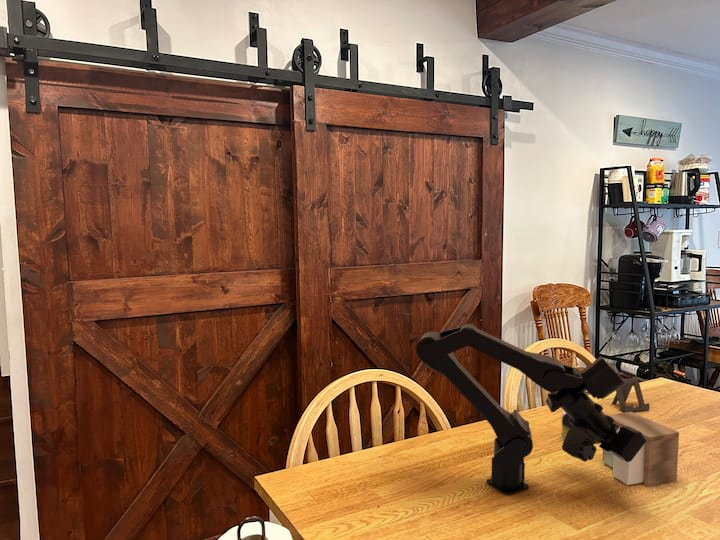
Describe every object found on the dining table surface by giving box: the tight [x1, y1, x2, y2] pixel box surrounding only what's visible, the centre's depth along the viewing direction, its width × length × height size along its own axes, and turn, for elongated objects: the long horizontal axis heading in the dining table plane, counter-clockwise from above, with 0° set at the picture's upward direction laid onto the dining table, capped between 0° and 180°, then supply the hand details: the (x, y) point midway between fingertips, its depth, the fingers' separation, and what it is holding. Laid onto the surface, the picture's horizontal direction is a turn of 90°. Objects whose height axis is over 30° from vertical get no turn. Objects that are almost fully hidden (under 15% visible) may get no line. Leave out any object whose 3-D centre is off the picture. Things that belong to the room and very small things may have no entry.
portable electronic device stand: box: [611, 377, 650, 413], centre depth 159 cm, size 9×8×8 cm
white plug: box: [612, 442, 646, 486], centre depth 116 cm, size 12×4×9 cm, turn 108°
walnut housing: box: [602, 412, 680, 487], centre depth 119 cm, size 9×13×11 cm
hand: (622, 453), depth 113 cm, fingers closed, pressing on white plug
